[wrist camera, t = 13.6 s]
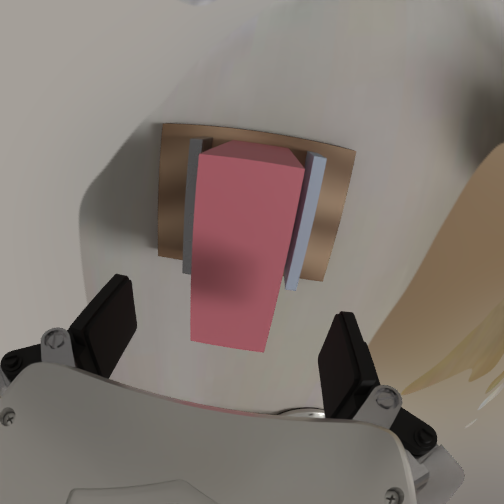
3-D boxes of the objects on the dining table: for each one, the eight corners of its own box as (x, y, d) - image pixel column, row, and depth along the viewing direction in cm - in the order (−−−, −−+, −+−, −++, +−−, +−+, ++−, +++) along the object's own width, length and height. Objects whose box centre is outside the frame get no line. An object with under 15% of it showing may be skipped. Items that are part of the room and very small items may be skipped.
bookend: (202, 254, 28) (192, 274, 25) (193, 253, 28) (182, 272, 25) (213, 137, 23) (202, 139, 19) (202, 136, 23) (190, 138, 19)
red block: (267, 265, 28) (263, 352, 18) (219, 258, 28) (190, 340, 17) (288, 148, 23) (305, 169, 12) (232, 139, 23) (198, 154, 12)
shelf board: (320, 274, 30) (322, 281, 29) (162, 249, 30) (158, 255, 29) (351, 149, 24) (356, 151, 22) (168, 123, 24) (162, 123, 22)
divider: (293, 268, 28) (295, 290, 25) (283, 267, 28) (285, 289, 25) (318, 153, 23) (326, 158, 19) (307, 151, 23) (314, 155, 19)
